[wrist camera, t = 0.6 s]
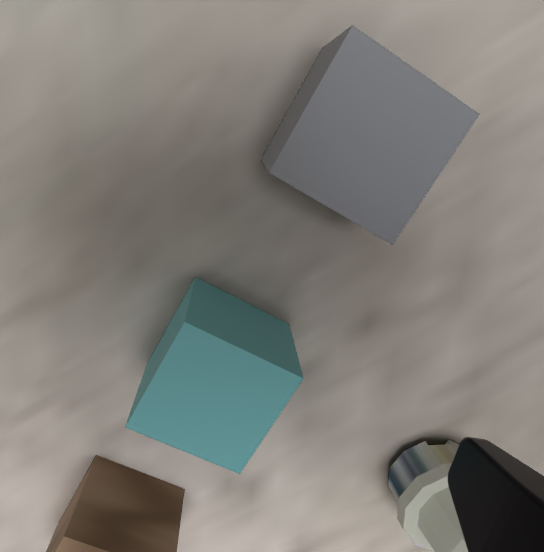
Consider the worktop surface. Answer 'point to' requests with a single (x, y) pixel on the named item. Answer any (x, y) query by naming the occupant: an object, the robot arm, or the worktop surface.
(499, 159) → the worktop surface
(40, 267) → the worktop surface
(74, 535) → the walnut block
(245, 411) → the teal block
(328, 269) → the worktop surface
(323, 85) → the charcoal block
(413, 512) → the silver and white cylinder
